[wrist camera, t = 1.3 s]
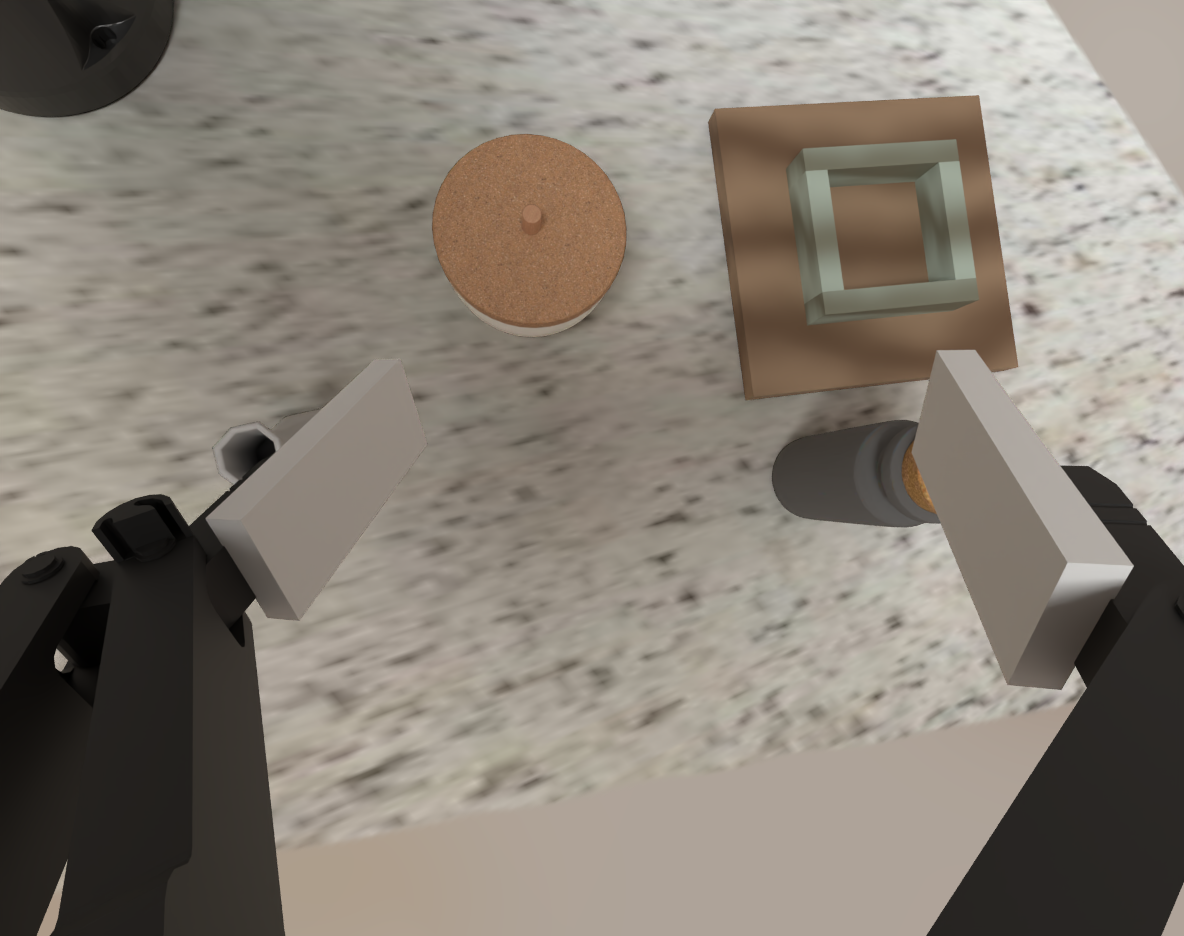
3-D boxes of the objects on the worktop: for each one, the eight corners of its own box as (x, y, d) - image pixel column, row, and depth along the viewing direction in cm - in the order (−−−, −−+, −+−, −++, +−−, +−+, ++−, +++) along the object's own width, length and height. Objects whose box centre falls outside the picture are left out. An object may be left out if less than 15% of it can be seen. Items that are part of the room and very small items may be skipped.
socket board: (708, 122, 43) (727, 84, 39) (963, 108, 45) (1006, 71, 41) (745, 400, 42) (768, 390, 38) (1001, 371, 45) (1048, 359, 41)
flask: (235, 447, 38) (136, 431, 28) (337, 387, 39) (275, 352, 29) (298, 542, 38) (221, 560, 28) (397, 482, 39) (356, 479, 29)
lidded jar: (631, 243, 42) (664, 171, 32) (568, 381, 41) (582, 349, 31) (489, 172, 41) (480, 77, 31) (421, 312, 40) (391, 257, 30)
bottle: (809, 536, 42) (966, 560, 27) (754, 475, 42) (882, 466, 27) (865, 479, 43) (1048, 473, 28) (811, 419, 43) (967, 381, 28)
